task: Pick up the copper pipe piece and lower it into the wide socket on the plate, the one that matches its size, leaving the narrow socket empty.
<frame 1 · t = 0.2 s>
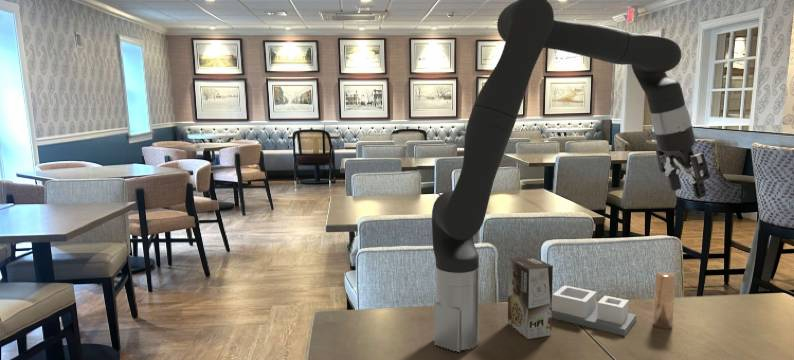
hand: (688, 193, 117), 30 cm above the table, tool tilted 20°, fingers open, 8 cm apart
socket plate: (592, 319, 121), on the table
copper pipe: (662, 325, 117), on the table
coffee box: (528, 330, 116), on the table
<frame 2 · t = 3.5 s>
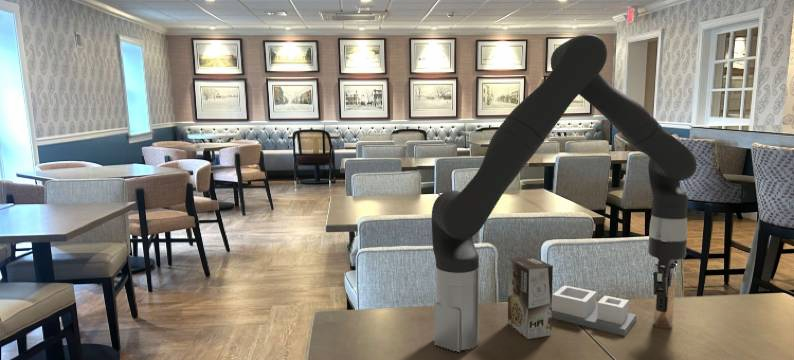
hand: (663, 307, 116), 4 cm above the table, tool pointing down, fingers closed on copper pipe, 4 cm apart
copper pipe: (662, 325, 117), on the table, touching gripper
everything else where it was.
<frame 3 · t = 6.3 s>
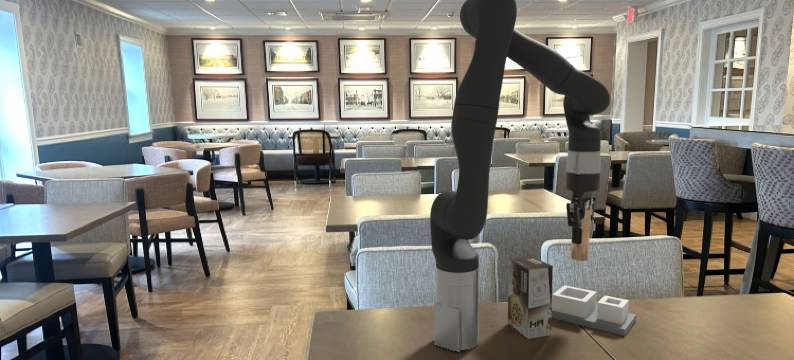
hand: (580, 241, 120), 19 cm above the table, tool pointing down, fingers closed on copper pipe, 4 cm apart
copper pipe: (579, 258, 121), point 14 cm above the table, touching gripper
everything else where it was.
when the fingers open (7 cm above the table, at t = 9.1 s): copper pipe stays where it is, resting on socket plate.
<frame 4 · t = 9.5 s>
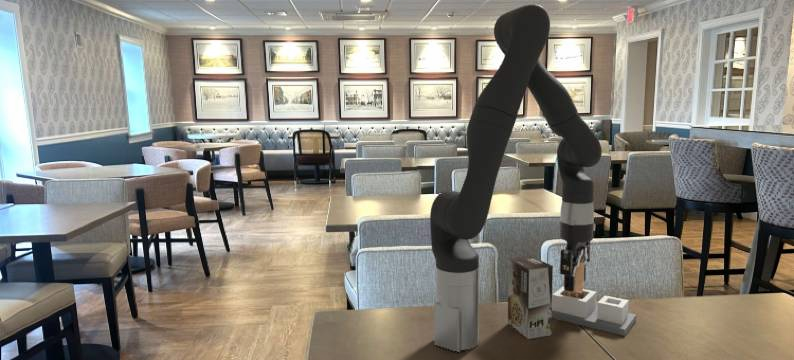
hand: (574, 285, 122), 7 cm above the table, tool pointing down, fingers open, 7 cm apart
copper pipe: (574, 308, 123), point 2 cm above the table, touching socket plate
everything else where it was.
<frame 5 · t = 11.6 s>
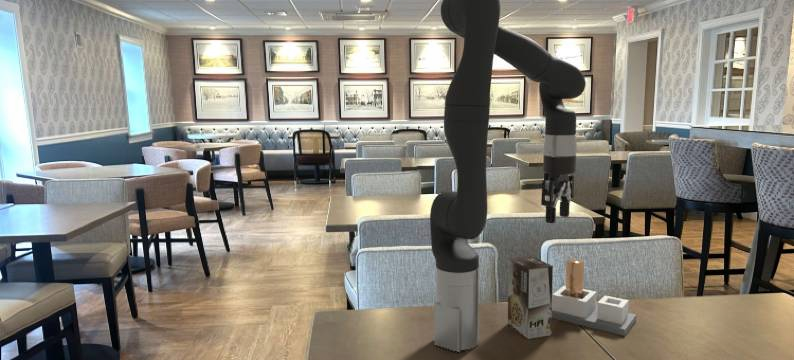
hand: (557, 219, 123), 23 cm above the table, tool pointing down, fingers open, 8 cm apart
nothing on the table moved.
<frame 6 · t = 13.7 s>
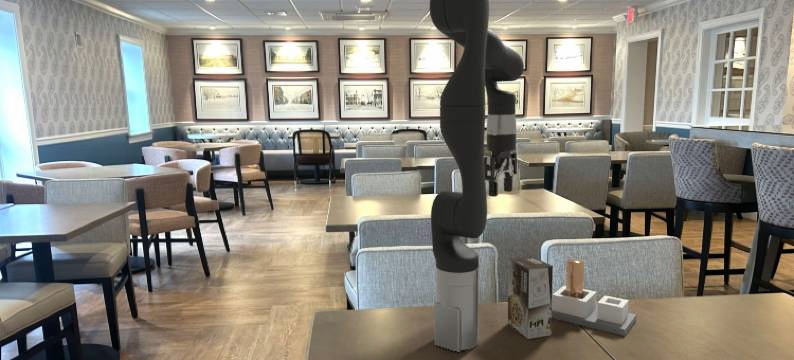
hand: (500, 193, 133), 28 cm above the table, tool pointing down, fingers open, 8 cm apart
nothing on the table moved.
at the end: copper pipe 0.0 cm from the target spot on the socket plate, point 1.5 cm above the socket plate's base; copper pipe tilted 1°; the gripper is holding nothing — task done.
